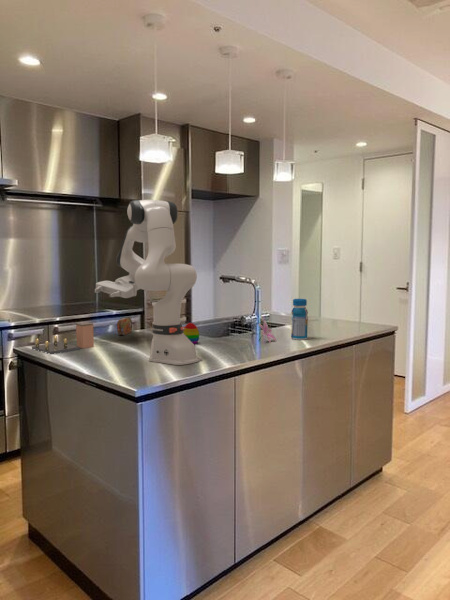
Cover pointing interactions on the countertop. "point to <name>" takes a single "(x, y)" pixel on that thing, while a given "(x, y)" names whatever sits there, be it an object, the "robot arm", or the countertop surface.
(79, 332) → the block
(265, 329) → the lily
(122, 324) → the tin
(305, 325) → the beverage bottle
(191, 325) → the decorative egg
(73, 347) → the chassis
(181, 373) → the countertop surface
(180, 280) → the robot arm
